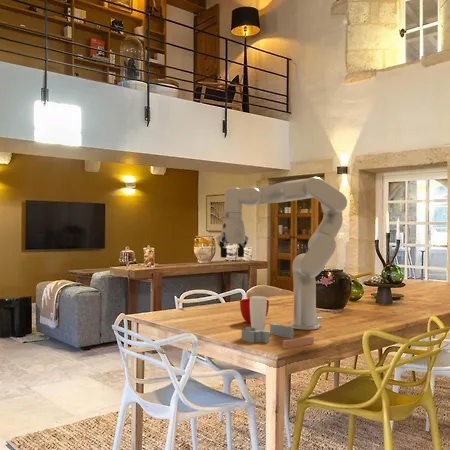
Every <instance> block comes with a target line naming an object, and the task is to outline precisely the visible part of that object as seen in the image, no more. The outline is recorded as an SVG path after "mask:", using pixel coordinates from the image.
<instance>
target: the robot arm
mask: <svg viewBox="0 0 450 450" xmlns="http://www.w3.org/2000/svg"><path fill="white" fill-rule="evenodd" d="M312 198H314V199H315V200H316V201H318V202H319V203H320V207H321V210H322V213H323V214H322V215H323V217H322V220H321V221H320V224H319V225H318V226H317V228H316V229H315V231H314V232H313V234H312V235H311V236H310V238H309V239H308V242H307V248H308V249H307V252H306V253H300V254H298V255H296V256H295V257H294V259H293V261H292V268H291V269H292V277H293V278H292V279H293V300H292V301H293V304H292V305H293V310H292V312H293V319H292V320H293V322H291V323H289V327H292V328H293V330H294V329H295V330H303V331H312V330H317V329H320V324H319V322H323V321H324V317H323V316H317V315H316V314H317V312H316V311H317V310H316V309H317V307H316V305H317V294H316V293H317V283H316V281H317V280H316V277H317V276H318V275H320V273H321V272H322V271H323V270H324V269H325V267H326V265H327V264H328V262H329V261H330V259H331V257H332V256H333V255H334V253H335V251H336V247H337V244H336V237H337V235H338V233H339V231H340V230H341V229H342V226H343V218H344V217H343V211H344V210H345V209H346V208H347V205H348V200H347V198H346V195H345V194H343V192H341V191H340V190H339V189H337V188H335V187H334V186H333V185H331V184H329V183H328V182H327V181H326V180H324V179H322V178H320V177H318V176H313V177H308V178H303V179H296V180H289V181H281V182H277V183H275V184H271V185H266V186H260V187H254V186H253V187H227V188H225V190H224V212H223V214H222V216H223V221H222V223H221V224H222V225H221V234H220V235H217V236H216V238H215V239H216V242H217V245H218V246H219V248H220V258H227V256H228V248H227V246H228V245H230V244H231V245H232V244H237V246H238V247H237V257H239V258H244V254H245V248H246V245H247V244H248V241H249V237H248V236H247V235H246V232H245V231H246V230H245V222H244V220H243V205H245V206H247V207H252V206H260V205H266V204H273V203H274V204H275V203H285V202H287V203H288V202H292V201H299V200H306V199H312Z"/></svg>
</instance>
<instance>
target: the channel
mask: <svg viewBox="0 0 450 450" xmlns="http://www.w3.org/2000/svg"><path fill="white" fill-rule="evenodd" d="M270 335H274V336H277V337H278V336H279V337H283V338H286V339H285V340H282V348H283V349H291V348H296V347H297V348H298V347H301V346H307V345H313V344H314V340H315V339H314V336H312V335H309V336H303V337H297V338H294V328H292V327H290V326H286V325H283V324H278V323H273V322H272V323H269V331H268V330H265V331H264V330H258V331H255V328H252V327H251V326H246V327H245V328H243V329H242V328H241V340H242V341H245V342H248V343H251V344H255V343H256V344H257V343H265V344H267V343H270Z"/></svg>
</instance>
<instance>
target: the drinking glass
mask: <svg viewBox="0 0 450 450" xmlns="http://www.w3.org/2000/svg"><path fill="white" fill-rule="evenodd" d="M249 299H250V318H251V324H250V327H252V328H255V331H258V330H264V331H266V328H265V327H266V318H267V316H266V307H267V301H266V300H267V297H266V296H263V295H262V296H261V295H253V296H250V297H249Z"/></svg>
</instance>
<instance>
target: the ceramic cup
mask: <svg viewBox="0 0 450 450" xmlns="http://www.w3.org/2000/svg"><path fill="white" fill-rule="evenodd" d="M266 301H267V307H266V317H267V316H268V312H269V306H270V301H269V299H266ZM239 305H240V306H239V307H240V313H241V315H242V318H243V319H244V321H245V322H246V324H247V325H248V324H249V325H251V318H250V298H244V299H240V300H239Z"/></svg>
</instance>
